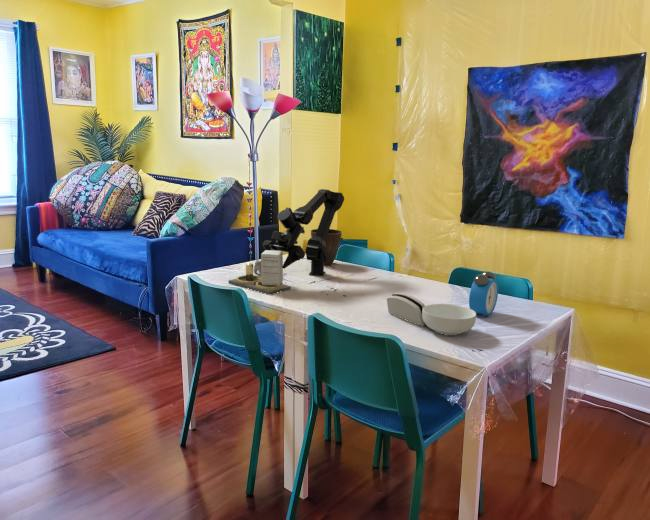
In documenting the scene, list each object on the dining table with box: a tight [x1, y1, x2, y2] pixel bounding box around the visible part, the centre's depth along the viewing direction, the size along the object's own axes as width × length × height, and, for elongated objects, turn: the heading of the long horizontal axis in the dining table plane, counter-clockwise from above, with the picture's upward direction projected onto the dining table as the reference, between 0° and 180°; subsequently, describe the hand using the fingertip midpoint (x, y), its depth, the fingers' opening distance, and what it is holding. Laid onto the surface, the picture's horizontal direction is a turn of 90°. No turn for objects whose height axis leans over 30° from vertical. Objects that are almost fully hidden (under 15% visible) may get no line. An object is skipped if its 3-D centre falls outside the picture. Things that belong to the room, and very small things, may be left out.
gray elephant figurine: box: [253, 258, 261, 277], centre depth 246 cm, size 9×12×8 cm
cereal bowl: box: [422, 303, 477, 336], centre depth 177 cm, size 17×17×7 cm
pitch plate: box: [228, 262, 292, 295], centre depth 224 cm, size 24×12×8 cm, turn 50°
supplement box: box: [260, 249, 284, 286], centre depth 220 cm, size 7×7×13 cm
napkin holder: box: [386, 292, 426, 327], centre depth 188 cm, size 17×5×10 cm, turn 36°
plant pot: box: [310, 228, 343, 266], centre depth 268 cm, size 15×15×16 cm
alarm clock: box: [468, 271, 499, 318], centre depth 196 cm, size 13×6×15 cm, turn 144°
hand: (274, 266), depth 222 cm, fingers open, 9 cm apart
